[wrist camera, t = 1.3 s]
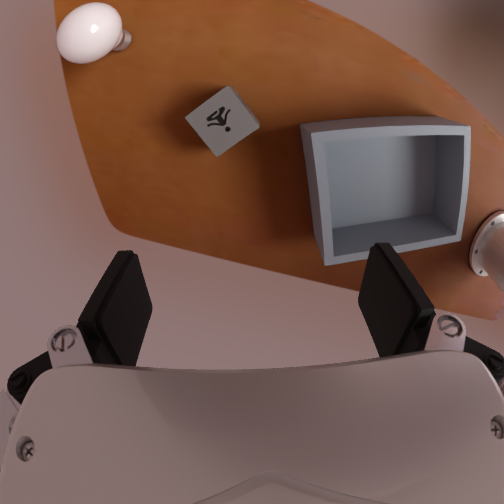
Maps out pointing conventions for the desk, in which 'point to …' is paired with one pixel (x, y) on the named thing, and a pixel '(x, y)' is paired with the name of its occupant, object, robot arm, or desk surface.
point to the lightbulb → (91, 33)
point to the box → (386, 183)
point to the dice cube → (223, 120)
